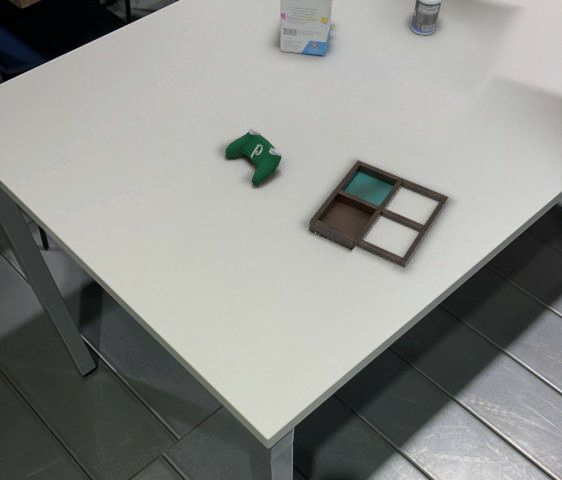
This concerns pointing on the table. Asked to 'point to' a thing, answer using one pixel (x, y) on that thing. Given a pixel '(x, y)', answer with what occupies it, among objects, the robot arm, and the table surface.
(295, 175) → the table surface
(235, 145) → the gaming controller
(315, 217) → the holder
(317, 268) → the table surface
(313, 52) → the ink box
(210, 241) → the table surface
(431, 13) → the pill bottle
